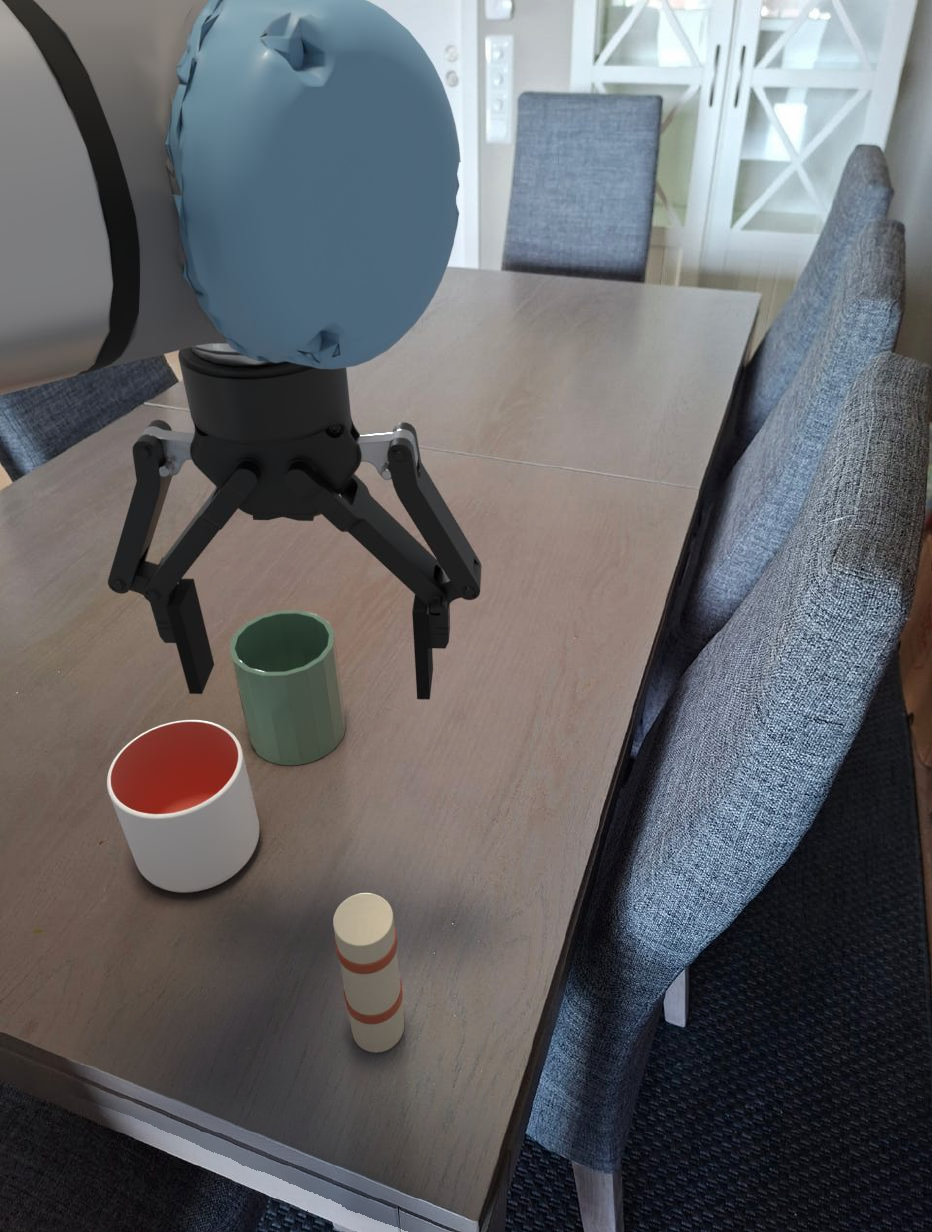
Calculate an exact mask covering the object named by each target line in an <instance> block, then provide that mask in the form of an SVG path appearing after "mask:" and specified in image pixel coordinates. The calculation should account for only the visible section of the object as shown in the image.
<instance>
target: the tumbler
mask: <svg viewBox="0 0 932 1232" xmlns="http://www.w3.org/2000/svg"><path fill="white" fill-rule="evenodd" d="M337 650H338V649H337V642H336V635H335V631H334V630H333V627H332V626H331V624H330V622H329V621H327V620H326V619H324V618H323V617H321V616H320V615H318V614H316V613H312V612H308V611H304V610H299V609H295V610H294V609H293V610H290V609H289V610H277V611H273V612H269V613H264V614H261V615H258V616H257V617H254V618H253V619H251V620H249V621H248V622H245V623H244V624H243V625H242V626H241V627H240V628H239V629H238V630H237V631H236V632H235V633H234V634H233V635H232V638H231V641H230V644H229V647H228V651H229V656H230V660H231V664H232V669H233V673H234V678H235V682H236V687H237V691H238V695H239V700H240V704H241V708H242V713H243V717H244V722H245V726H246V730H247V735H248V737H249V740H250V745H251V747H252V749H253V750H254V752H255V753H256V754H257V755H258V756H259V757H261V758H262V759H263V760H265V761H267V762H269V763H272V764H276V765H280V766H301V765H306V764H310V763H312V762H315V761H318V760H320V759H322V758H324V757H326V756H327V755H329V754H330V753H331V752H333V751H334V750H335V749H336V748H337V747H338V745H339V744H340V743H341V742H342V740H343V738H344V736H345V732H346V713H345V712H346V711H345V704H344V696H343V689H342V681H341V672H340V663H339V658H338V651H337Z"/></svg>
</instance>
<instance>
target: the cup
mask: <svg viewBox="0 0 932 1232" xmlns="http://www.w3.org/2000/svg"><path fill="white" fill-rule="evenodd" d="M241 745H242V744H241V742H240V741H239V740H238V738H237V737H236V735H235V734H234V733H232V732H231V731H230V730H229V729H228V728H226V727H224V726H222V725H220V724H217V723H214V722H211V721H206V720H201V719H185V720H184V719H183V720H177V721H172V722H168V723H163V724H160V725H157V726H155V727H153V728H150V729H148V730H146V731H144V732H142V733H141V734H139V735H138V736H137V737H135V738H133V739H131V741H129V742H127V744H126V745H125V746H124V747H122V749H121V750H120V751H119V752H118V753H117V755H115V757H114V759H113V760H112V763H111V764H110V767H109V770H108V773H107V777H106V788H107V793H108V795H109V798H110V801H111V803H112V805H113V809H114V811H115V813H116V816H117V818H118V821H119V824H120V827H121V830H122V831H123V834H124V836H125V840H126V842H127V844H128V847H129V849H130V853H131V855H132V858H133V860H134V863H135V865H136V867H137V869H138V871H139V872H140V874H141V875H142V876H143V878H144V879H146V880H147V881H148V882H149V883H150V884H152V885H154V886H155V887H158V888H159V889H162V890H165V891H168V892H172V893H173V892H175V893H194V892H201V891H204V890H209V889H211V888H214V887H216V886H219V885H221V884H223V883H225V882H226V881H228V880H229V879H231V878H232V877H234V876H235V875H236V874H237V873H239V872H240V871H241V870H242V869H243V868H244V866H245V865H246V864H247V863H248V862H249V860H250V859H251V857H252V856H253V854H254V852H255V850H256V848H257V845H258V842H259V837H260V820H259V816H258V811H257V808H256V803H255V800H254V796H253V791H252V786H251V783H250V778H249V773H248V769H247V765H246V761H245V756H244V752H243V748H242V746H241Z"/></svg>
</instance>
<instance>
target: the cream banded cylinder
mask: <svg viewBox="0 0 932 1232" xmlns="http://www.w3.org/2000/svg"><path fill="white" fill-rule="evenodd" d="M393 912H394V911H393V908H392V906H391V905H390V903H389V902H388V901H387V899H385V898H384V897H382V896H380V895H378V894H375V893H372V892H361V893H356V894H353V895H351V896H349V897H347V898H346V899H345V900H343V901H342V902H341V903H340V904H339V905H338V907H337V908H336V910H335V912H334V915H333V918H332V919H333V920H332V926H333V931H334V947H335V953H336V956H337V957H336V958H337V959H338V961H339V965H340V971H341V977H342V983H343V988H344V989H343V997H344V1003H345V1007H346V1009H347V1012H348V1016H349V1022H350V1029H351V1034H352V1037H353V1040H354V1042H355V1043H356V1044H357V1046H358V1047H360V1048H361V1049H362V1050H364V1051H366V1052H369V1053H376V1054H379V1053H383V1052H387V1051H389V1050H390V1049H392V1048H393V1047H395V1046H396V1045H398V1043H399V1041H400V1040H401V1039H402V1036H403V1034H404V1031H405V1018H404V1017H405V1016H404V1008H403V1007H404V1006H403V985H402V980H401V976H400V970H399V969H400V968H399V960H398V958H399V957H398V934H397V929H396V926H395V921H394V913H393Z"/></svg>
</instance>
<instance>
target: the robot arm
mask: <svg viewBox="0 0 932 1232" xmlns="http://www.w3.org/2000/svg"><path fill="white" fill-rule="evenodd" d="M458 136H459V135H458V131H457V125H456V120H455V117H454V113H453V109H452V106H451V102H450V100H449V98H448V95H447V92H446V89H445V86H444V84H443V81H442V79H441V77H440V75H439V73H438V71H437V68H436V66H435V65H434V62H432V60H431V58H430V57H429V55H428V53H427V52H426V50H425V49H424V47H423V46H422V45H421V44H420V42H419V41H418V40H417V39H416V38H415V36H414V35H413V33H411V32H410V30H409V29H408V28H406V27H405V26H404V25H403V24H402V23H401V22H399V20H397V19H396V18H394V16H392V15H391V14H390V13H388V11H387V10H385V9H384V8H382V7H380V6H378V5H377V4H374V3H373V2H371V1H370V0H0V397H1V396H4V395H7V394H11V393H16V392H19V391H23V390H26V389H30V388H35V387H38V386H42V385H46V384H50V383H53V382H57V381H61V380H64V379H68V378H72V377H76V376H80V375H83V374H87V373H91V372H95V371H98V370H102V369H107V368H112V367H115V366H116V367H117V366H120V365H124V364H128V363H132V362H137V361H141V360H147V359H149V358H155V357H159V356H163V355H167V354H169V353H170V354H171V353H174V352H178V354H177V355H178V361H179V362H178V363H179V367H180V372H181V375H182V380H183V385H184V390H185V395H186V399H187V404H188V407H189V408H188V409H189V414H190V418H191V420H192V423H193V426H194V432H193V433H192V432H184V431H175V430H173V429H172V427H171V425H170V424H169V423H167V422H166V421H165V420H161V419H154V420H152V421H151V422H150V423H149V424H148V425H147V427H146V428H145V429H144V430H143V432H142V433H141V435H140V436H139V437H138V438H137V440H136V441H135V443H134V444H133V446H132V451H131V452H132V457H133V458H132V459H133V465H134V471H135V472H134V473H135V479H136V482H135V485H134V489H133V492H132V495H131V499H130V503H129V505H128V506H129V507H128V509H127V512H126V516H125V520H124V523H123V527H122V529H121V530H122V531H121V533H120V537H119V540H118V544H117V547H116V551H115V554H114V558H113V561H112V564H111V569H110V572H109V576H108V579H107V586H108V588H109V589H110V590H111V591H112V592H114V593H116V594H120V595H123V594H124V595H125V594H126V593H127V594H128V592H129V591H131V592H134V593H137V594H140V595H142V596H143V597H144V598H145V600H146V601H147V602H148V603H149V605H150V608H151V611H152V615H153V619H154V622H155V625H156V628H157V633H158V636H159V638H160V639H161V640H162V641H163V642H164V644H175V646H176V649H177V652H178V657H179V660H180V663H181V668H182V671H183V675H184V678H185V682H186V685H187V689H188V693H189V695H202V694H203V693H204V690H205V688H206V686H207V684H208V681H209V678H210V676H211V673H212V671H213V668H214V666H215V661H214V658H213V657H214V656H213V653H212V648H211V645H210V641H209V637H208V632H207V629H206V625H205V620H204V616H203V612H202V607H201V603H200V599H199V595H198V591H197V587H196V582H195V579H194V578H184V576H185V575H186V573H187V572H188V571H189V570H190V568H191V567H192V566H193V565H194V564H195V562H196V561H197V560H198V558H199V557H200V556H201V555H202V553H203V552H204V551H205V549H206V548H207V547H208V545H209V544H210V543H211V542H212V541H213V539H214V538H215V536H216V535H217V534H218V533H219V532H220V531H221V530H222V529H224V527H225V526H226V525H227V523H228V522H229V521H230V519H231V518H232V517H233V515H235V513H236V512H237V510H240V511H241V512H243V513H244V514H246V515H250V516H252V520H253V521H271V520H276V519H279V518H285V519H290V520H293V521H299V522H314V520H315V517H318V516H321V515H322V517H324V518H325V519H326V520H327V521H328V522H329V523H331V524H332V526H333V527H335V529H337V530H338V531H340V532H342V533H348V534H350V536H352V537H353V539H355V540H356V541H357V542H358V543H359V544H360V545H361V546H362V547H364V549H366V550H367V551H368V552H369V553H370V554H371V555H372V556H373V557H374V558H375V559H376V560H377V561H379V563H381V564H382V566H384V567H385V568H386V569H387V570H388V571H389V572H390V573H392V575H393V576H395V577H396V578H397V579H398V580H399V581H400V582H401V583H402V584H403V585H404V586H406V588H408V589H409V590H410V591H411V592H412V593H413V594H414V596H413V604H412V609H411V613H412V615H411V616H412V632H413V634H412V635H413V649H414V667H415V668H414V669H415V685H416V686H415V688H416V699H417V700H427V701H428V700H431V692H432V683H433V675H434V655H433V649H439V650H443V649H447V647H448V644H449V642H450V633H451V603H452V602H453V601H456V600H457V599H463V600H465V601H473V600H476V599H477V598H479V596H480V594H481V586H482V585H481V583H482V582H481V581H482V563H481V560H480V559H479V557H478V556H477V554H476V552H475V551H474V549H473V547H472V545H471V544H470V542H469V540H468V539H467V536H465V534H464V532H463V530H462V528H461V527H460V525H459V523H458V522H457V520H456V518H455V517H454V515H453V513H452V512H451V509H450V508H449V506H448V505H447V503H446V501H445V499H444V498H443V496H442V495H441V493H440V490H439V489H438V488H437V486H436V484H435V482H434V481H433V479H432V478H431V476H430V474H429V473H428V471H427V469H426V467H425V466H424V464H423V462H422V459H421V452H420V447H419V440H418V434H417V429H416V427H414V426H413V424H412V423H409V422H398V423H397V424H396V425H394V428H393V429H392V432H383V433H372V434H363V435H362V434H361V433H360V432H359V430H358V429H357V428H356V426H355V423H354V421H353V419H352V412H351V402H350V401H351V400H350V392H349V381H348V380H349V379H348V371H347V370H348V369H347V368H351V367H356V366H359V365H362V364H365V363H367V362H371V360H374V359H375V358H377V357H379V356H380V355H382V354H385V352H388V350H390V349H391V348H392V347H394V346H395V345H396V344H397V343H399V341H401V339H402V338H403V337H404V336H405V335H407V333H408V332H409V331H410V330H411V329H413V327H414V326H415V325H416V324H417V322H418V321H419V320H420V318H421V317H422V316H423V315H424V313H425V312H426V310H427V308H428V307H429V306H430V304H431V302H432V300H433V298H434V297H435V295H436V293H437V291H438V289H439V287H440V285H441V283H442V281H443V278H444V275H445V273H446V270H447V267H448V265H449V262H450V258H451V255H452V251H453V248H454V244H455V238H456V234H457V230H458V225H459V218H460V211H459V208H458V204H457V196H458V192H459V188H460V181H459V176H458V172H459V167H460V163H461V162H462V161H461V151H460V149H461V148H460V143H459V137H458ZM189 460H190V461H192V463H193V465H194V466H195V467H196V468H197V469H198V470H199V471H200V472H201V473H202V474H203V475H204V476H205V477H206V478H207V479H208V480H209V481H210V482H211V483H212V484H213V485H214V486H215V488H214V490H213V491H212V492H211V494H210V495H209V497H208V498H207V499H206V500H205V502H204V503H203V504H202V505H201V507H200V509H199V510H198V511H197V513H195V515H194V516H193V518H192V519H191V520H190V521H189V523H188V524H187V525H186V527H185V529H184V530H183V531H182V532H181V534H180V535H179V536H178V537H177V539H176V540H175V541H174V543H173V544H172V545H171V547H170V548H169V549H168V550H167V552H166V553H165V554H164V556H162V557H161V559H160V560H159V563H154V562H151V561H148V560H147V557H148V555H149V553H150V552H149V551H150V550H151V549H150V548H151V546H152V542H153V540H154V536H155V532H156V529H157V527H158V524H159V520H160V517H161V515H162V511H163V507H164V504H165V501H166V498H167V494H168V491H169V488H170V485H171V482H172V479H173V477H175V476H177V475H178V474H179V473H180V471H181V470H182V468H183V467H184V465H185V463H186V461H189ZM361 463H367V464H368V463H369V464H371V465H372V466H373V467H374V468H375V470H376V471H377V473H378V474H379V476H380V477H381V478H382V479H383V480H385V481H391V482H392V486H393V488H394V491H395V493H396V496H397V498H398V499H399V501H400V503H401V505H402V506H403V507H404V510H405V511H406V513H407V514H408V516H409V517H410V519H411V520H412V522H413V524H414V525H415V527H416V529H417V530H418V532H419V533H420V535H421V536H422V538H423V540H424V541H425V543H426V545H427V546H428V548H429V550H430V551H431V552H432V553H431V552H430V551H429V550H427V549H426V547H425V546H424V545H422V544H421V543H420V542H419V541H418V540H417V539H416V538H415V536H414V535H412V534H411V533H410V532H409V531H408V530H407V529H406V528H405V527H404V526H403V524H401V523H400V522H399V521H397V519H396V518H395V517H393V516H392V514H391V513H390V512H389V511H387V510H386V509H385V508H384V507H383V505H381V504H380V502H378V501H377V500H376V499H375V498H374V497H373V496H372V494H371V493H370V491H369V488H368V486H367V485H366V484H365V483H364V481H363V480H362V479H360V478H359V476H358V475H356V474H355V473H356V472H357V470H358V469H359V468H360V465H361ZM432 554H433V555H432Z"/></svg>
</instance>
